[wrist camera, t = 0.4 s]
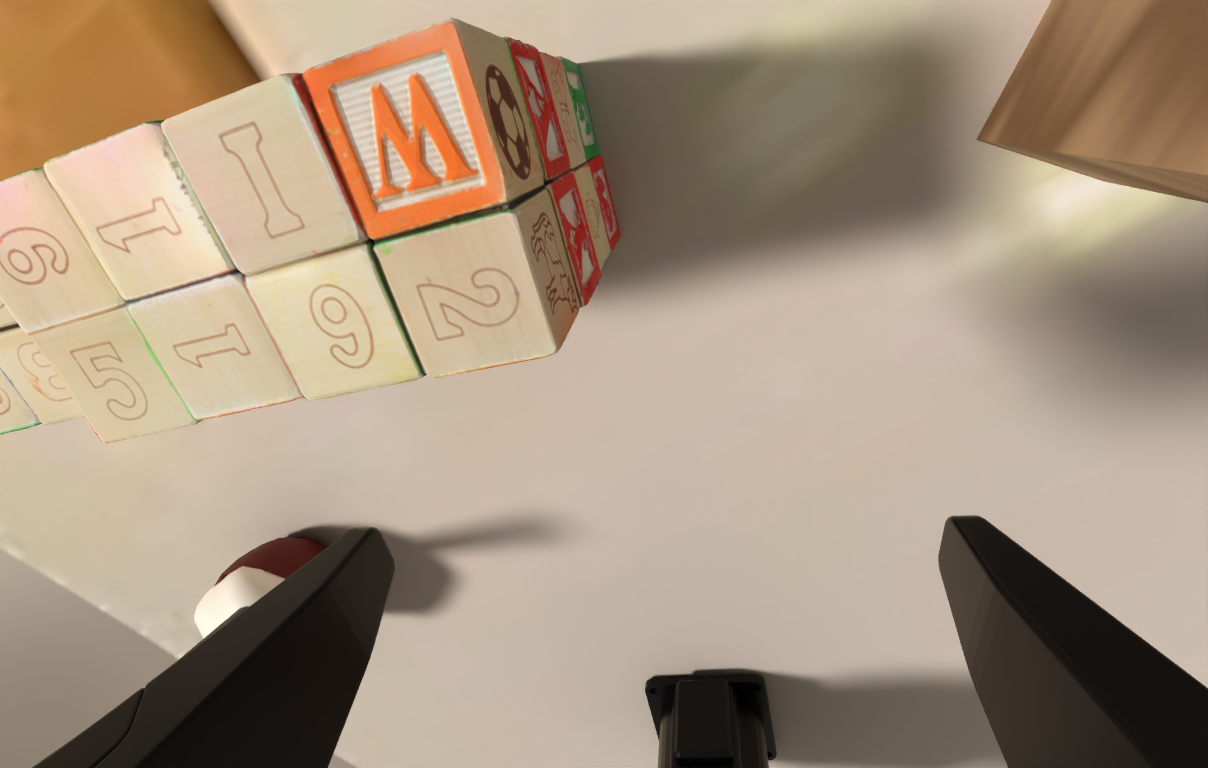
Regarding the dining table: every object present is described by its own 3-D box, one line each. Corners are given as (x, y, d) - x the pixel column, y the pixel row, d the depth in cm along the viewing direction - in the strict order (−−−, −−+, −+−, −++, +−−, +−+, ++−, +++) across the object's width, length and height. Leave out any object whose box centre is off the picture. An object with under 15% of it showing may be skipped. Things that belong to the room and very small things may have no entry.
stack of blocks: (185, 339, 28) (-146, 497, 17) (107, 205, 25) (-338, 288, 14) (625, 234, 23) (561, 361, 12) (582, 56, 21) (452, 10, 10)
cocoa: (316, 622, 36) (159, 854, 25) (229, 558, 34) (21, 779, 24) (410, 557, 32) (268, 801, 21) (316, 481, 30) (113, 706, 20)
